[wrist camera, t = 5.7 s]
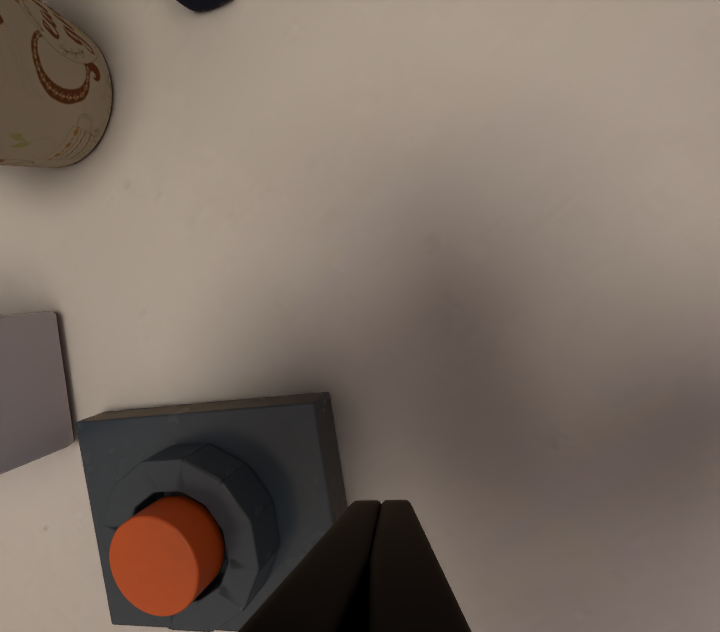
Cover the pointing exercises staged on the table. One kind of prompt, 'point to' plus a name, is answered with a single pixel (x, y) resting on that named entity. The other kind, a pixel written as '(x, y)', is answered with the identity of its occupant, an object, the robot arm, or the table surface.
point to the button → (166, 555)
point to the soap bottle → (31, 390)
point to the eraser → (201, 4)
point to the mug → (48, 87)
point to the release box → (219, 491)
